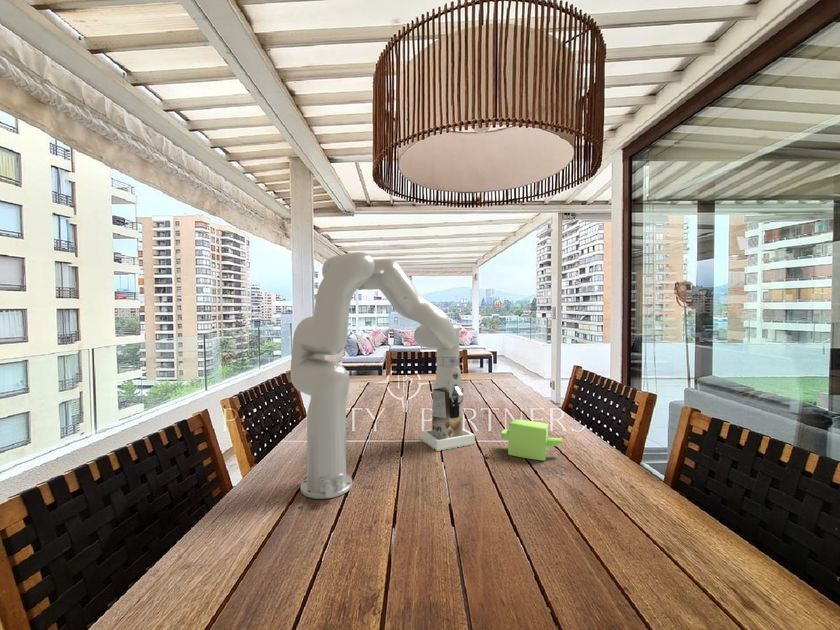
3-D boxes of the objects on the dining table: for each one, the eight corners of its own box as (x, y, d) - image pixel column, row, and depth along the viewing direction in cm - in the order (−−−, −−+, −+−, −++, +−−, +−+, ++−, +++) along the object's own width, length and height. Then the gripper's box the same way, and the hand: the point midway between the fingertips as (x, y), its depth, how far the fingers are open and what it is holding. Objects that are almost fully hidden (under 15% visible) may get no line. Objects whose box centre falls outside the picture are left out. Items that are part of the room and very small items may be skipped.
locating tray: (474, 444, 125) (474, 434, 125) (437, 451, 119) (437, 441, 119) (457, 434, 135) (457, 425, 135) (421, 440, 129) (421, 430, 129)
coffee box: (447, 442, 122) (447, 392, 121) (431, 438, 126) (431, 389, 125) (463, 435, 129) (463, 387, 128) (447, 431, 133) (447, 385, 132)
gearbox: (563, 454, 119) (564, 423, 119) (561, 464, 110) (562, 431, 110) (504, 444, 126) (505, 415, 126) (498, 453, 117) (499, 422, 117)
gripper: (472, 364, 120) (471, 419, 121) (444, 357, 136) (444, 406, 136) (451, 366, 117) (451, 423, 118) (425, 359, 133) (425, 409, 133)
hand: (447, 414), depth 127 cm, fingers closed on coffee box, 8 cm apart
